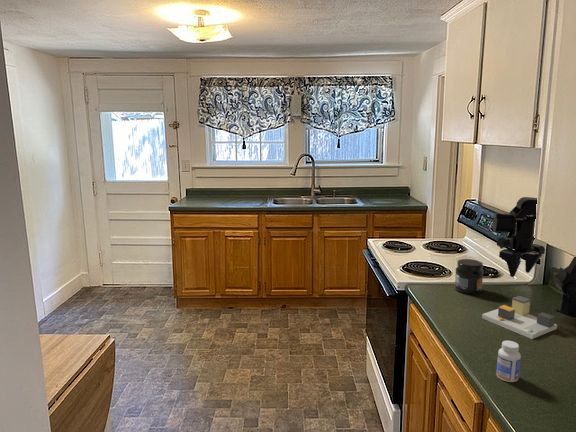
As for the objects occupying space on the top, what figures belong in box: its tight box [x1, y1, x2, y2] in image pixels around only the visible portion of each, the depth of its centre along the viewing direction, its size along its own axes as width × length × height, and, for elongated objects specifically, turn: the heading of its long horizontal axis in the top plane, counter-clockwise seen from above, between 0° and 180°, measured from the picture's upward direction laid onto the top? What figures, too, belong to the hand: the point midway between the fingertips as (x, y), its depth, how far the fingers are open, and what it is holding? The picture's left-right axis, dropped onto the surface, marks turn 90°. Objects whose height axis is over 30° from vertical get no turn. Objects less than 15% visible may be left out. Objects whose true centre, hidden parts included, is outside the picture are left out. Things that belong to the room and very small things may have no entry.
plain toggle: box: [536, 311, 556, 327], centre depth 144 cm, size 3×4×3 cm
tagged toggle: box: [498, 304, 515, 320], centre depth 149 cm, size 3×4×3 cm
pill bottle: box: [496, 340, 522, 383], centre depth 116 cm, size 5×5×10 cm
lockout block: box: [511, 295, 532, 315], centre depth 153 cm, size 4×4×5 cm
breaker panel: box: [481, 308, 558, 340], centre depth 149 cm, size 14×18×2 cm
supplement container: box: [453, 258, 485, 295], centre depth 178 cm, size 10×10×12 cm
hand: (519, 274), depth 159 cm, fingers open, 9 cm apart
